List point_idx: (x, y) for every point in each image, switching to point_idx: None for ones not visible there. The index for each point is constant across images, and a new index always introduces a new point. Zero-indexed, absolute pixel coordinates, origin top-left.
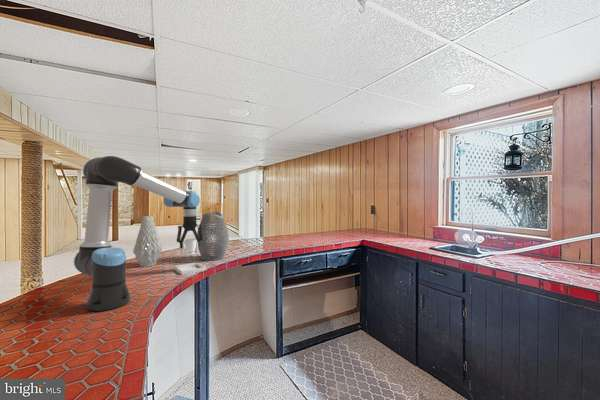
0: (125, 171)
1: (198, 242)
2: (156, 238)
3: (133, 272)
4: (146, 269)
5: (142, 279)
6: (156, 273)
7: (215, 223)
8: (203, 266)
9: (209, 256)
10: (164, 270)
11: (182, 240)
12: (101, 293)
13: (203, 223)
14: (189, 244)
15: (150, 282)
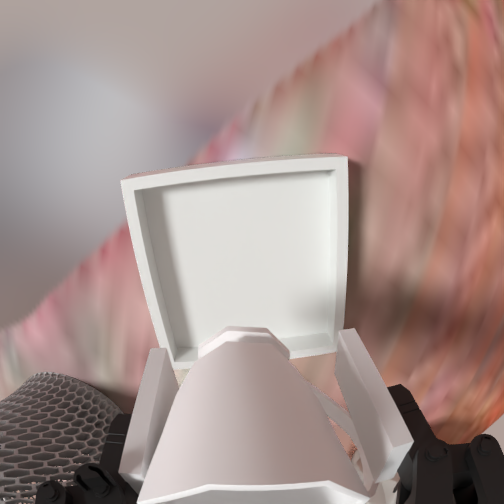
0: None
1: (117, 464)
2: None
3: (466, 368)
4: (417, 397)
5: (499, 226)
6: (426, 308)
7: None
8: (139, 221)
9: (79, 411)
10: (374, 350)
11: (438, 480)
12: None
13: None
14: (305, 418)
15: (493, 139)
